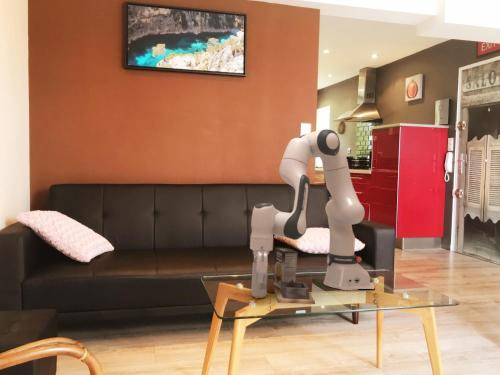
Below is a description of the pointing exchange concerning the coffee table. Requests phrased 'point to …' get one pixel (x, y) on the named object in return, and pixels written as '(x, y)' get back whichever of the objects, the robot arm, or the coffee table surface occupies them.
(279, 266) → the coffee box
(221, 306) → the coffee table surface
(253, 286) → the energy drink can
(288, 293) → the can stand
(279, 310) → the coffee table surface
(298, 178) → the robot arm
